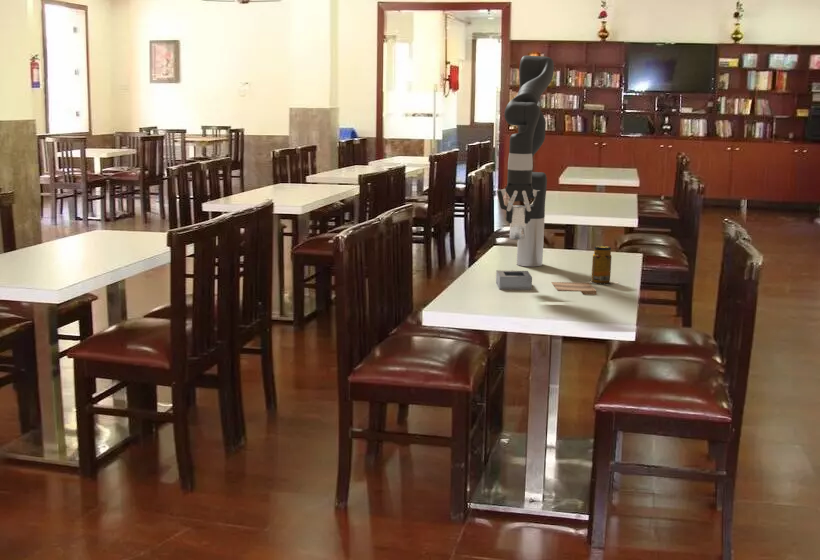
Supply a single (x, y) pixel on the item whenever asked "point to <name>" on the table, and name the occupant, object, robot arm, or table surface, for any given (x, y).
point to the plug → (518, 222)
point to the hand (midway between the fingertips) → (517, 222)
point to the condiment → (602, 266)
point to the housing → (513, 280)
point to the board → (574, 287)
